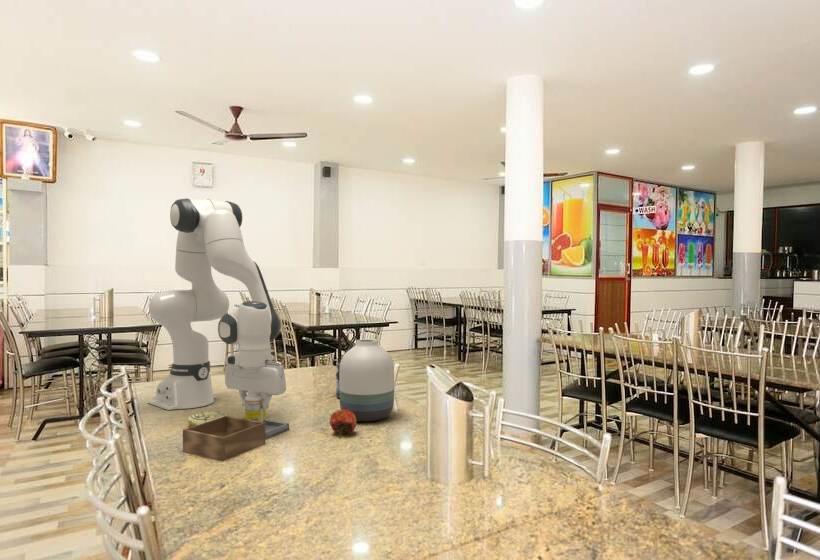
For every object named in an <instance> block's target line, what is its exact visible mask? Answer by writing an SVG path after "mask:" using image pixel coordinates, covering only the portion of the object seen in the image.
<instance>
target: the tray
mask: <svg viewBox="0 0 820 560" xmlns="http://www.w3.org/2000/svg"><path fill="white" fill-rule="evenodd" d="M242 419H245V416H244V417H242ZM287 430H288V431H290V423H287V422H283V421H277V420H271V419H266V422H265V439H266V440H268V439H271V438H272V437H275V436H278V435H280V434H283V433H285V432H288V431H287ZM282 432H283V433H282ZM270 437H271V438H270Z"/></svg>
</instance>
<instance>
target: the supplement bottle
mask: <svg viewBox="0 0 820 560" xmlns="http://www.w3.org/2000/svg"><path fill="white" fill-rule="evenodd" d="M264 398H265V397H263V394H262V393H256V392H253V391H252V390H248V392H247V396H246V397H245V406H244V411H245V413H244V417H245V419H247V420H253V421H258V422H264V423H265V422H266V420H267V419H266V418H267V417H266V415H267V414H266V409H261V408H260V406H261V405H260V403H261V402H263V400H264Z"/></svg>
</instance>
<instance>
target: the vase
mask: <svg viewBox="0 0 820 560" xmlns="http://www.w3.org/2000/svg"><path fill="white" fill-rule="evenodd" d="M339 363H340V369H339V393H340V399H339V407H340V410H342V409H345V408H346V409H348V410H349V411H352V412H353V413H354V414H355V417H356V422H375V421H380V420H383V419H385V418H387V417H389V415H390V414H391V413H392V411H393V408H394V405H395V364H394V360H393V358H392V356H391V355H390V353H389V352H388V351H387V350H386V349H385V348H383V347H382V346H380V345H379V343H378V340H377V339H375V338H374V339H373V338H363V339H357V340H356V343H355V345H354V346H352V347H351V348H350V349H348V350H347V352H346V353H344V354H343V355H342V357H341V359H340V362H339Z"/></svg>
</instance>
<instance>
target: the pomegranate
mask: <svg viewBox="0 0 820 560" xmlns="http://www.w3.org/2000/svg"><path fill="white" fill-rule="evenodd" d="M329 426H330V427H331V428H332V431H333V432H334V433H335V434H339V440H340V439H341V436H342V434H351V433H353V432H354V431H355V429H356V426H357V421H356V417H355V414H354V413H353V412H352V411H349V410H348V409H346V408H345V409H342V410H341V409H339V410H336V411H333V412H332V413H331V415H330V418H329Z"/></svg>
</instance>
